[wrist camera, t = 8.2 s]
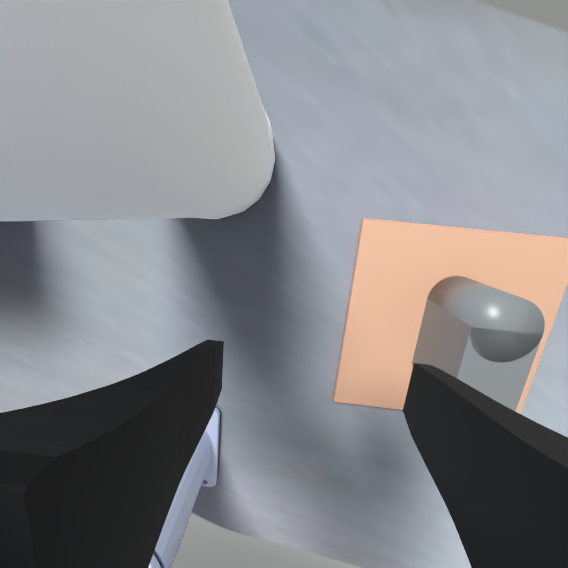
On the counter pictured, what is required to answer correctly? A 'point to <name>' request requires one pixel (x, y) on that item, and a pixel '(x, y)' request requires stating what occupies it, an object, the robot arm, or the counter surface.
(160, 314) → the counter surface
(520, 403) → the plate
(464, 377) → the plug
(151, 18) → the bottle
